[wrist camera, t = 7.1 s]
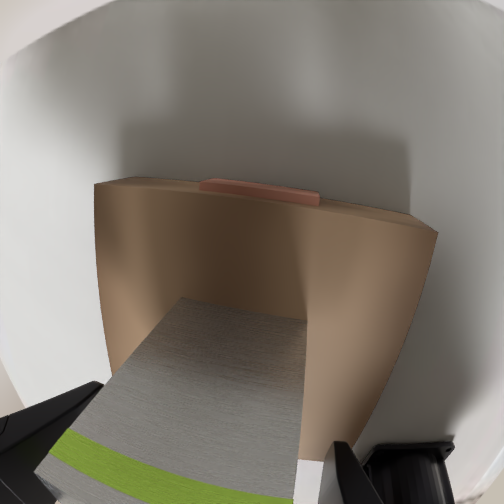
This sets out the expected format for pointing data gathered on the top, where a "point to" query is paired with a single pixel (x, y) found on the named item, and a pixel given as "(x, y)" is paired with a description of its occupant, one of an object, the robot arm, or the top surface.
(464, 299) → the top surface
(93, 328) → the top surface
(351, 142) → the top surface
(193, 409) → the metal column
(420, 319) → the top surface
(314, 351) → the walnut riser
